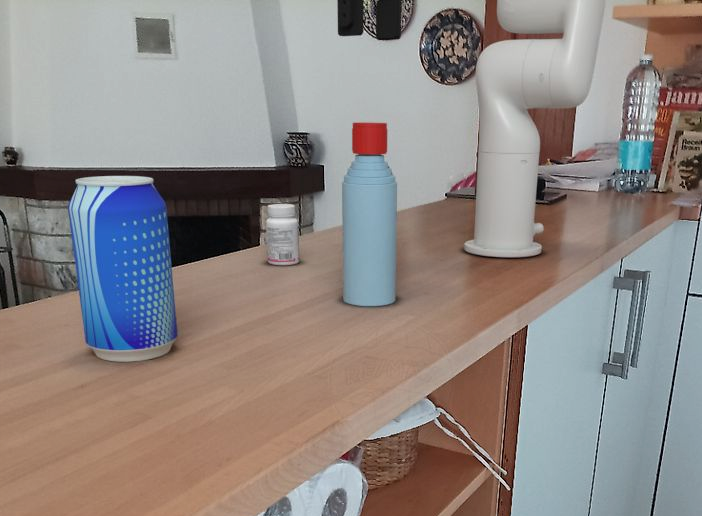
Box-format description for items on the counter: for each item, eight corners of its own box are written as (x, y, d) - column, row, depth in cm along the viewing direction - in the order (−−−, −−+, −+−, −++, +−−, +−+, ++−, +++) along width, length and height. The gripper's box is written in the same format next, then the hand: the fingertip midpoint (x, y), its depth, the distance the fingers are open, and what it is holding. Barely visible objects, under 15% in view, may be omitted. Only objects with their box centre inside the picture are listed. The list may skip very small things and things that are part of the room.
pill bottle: (278, 258, 120) (276, 202, 117) (305, 261, 118) (304, 204, 115) (261, 263, 116) (258, 206, 113) (288, 267, 114) (286, 208, 111)
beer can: (128, 370, 70) (107, 185, 64) (68, 354, 74) (43, 179, 68) (197, 347, 76) (183, 178, 71) (138, 334, 80) (120, 173, 75)
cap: (368, 151, 92) (368, 122, 91) (394, 153, 90) (394, 123, 89) (345, 153, 89) (344, 122, 88) (371, 155, 87) (371, 123, 86)
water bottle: (367, 291, 100) (367, 126, 93) (406, 299, 96) (409, 128, 89) (332, 300, 95) (329, 127, 88) (371, 309, 91) (372, 128, 84)
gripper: (395, -134, 87) (393, 43, 94) (282, -175, 75) (288, 33, 81) (450, -146, 83) (444, 41, 89) (339, -192, 70) (341, 30, 77)
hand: (369, 35), depth 85 cm, fingers open, 5 cm apart
